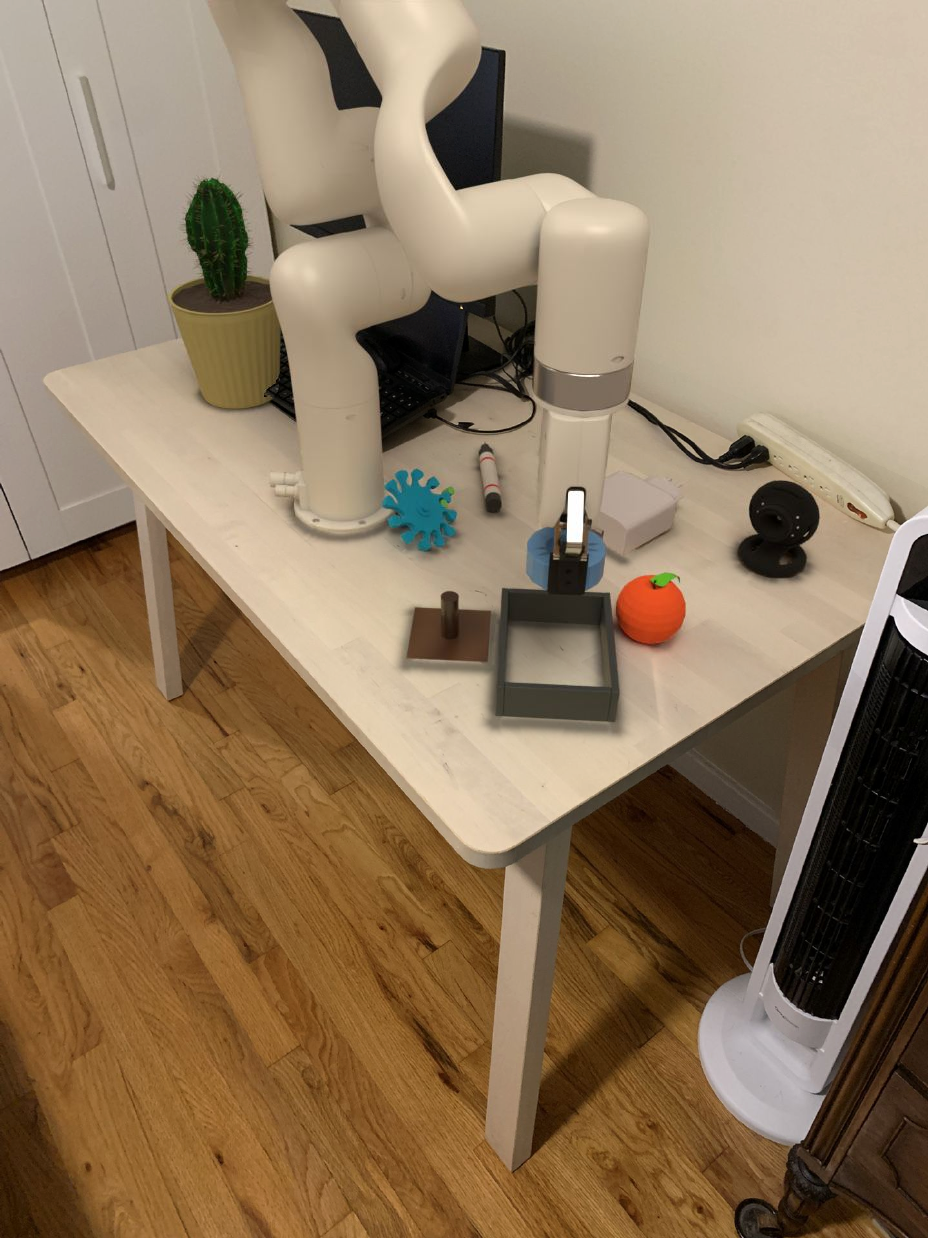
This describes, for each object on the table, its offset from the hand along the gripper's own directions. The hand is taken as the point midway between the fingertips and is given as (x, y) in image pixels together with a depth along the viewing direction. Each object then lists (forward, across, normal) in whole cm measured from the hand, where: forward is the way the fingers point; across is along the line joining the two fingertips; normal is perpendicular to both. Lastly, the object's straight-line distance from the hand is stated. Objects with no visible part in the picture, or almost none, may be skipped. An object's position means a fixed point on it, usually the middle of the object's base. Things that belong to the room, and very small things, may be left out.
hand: (564, 565), depth 80 cm
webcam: (+13, -21, +25) cm, 35 cm away
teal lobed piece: (+13, -23, -15) cm, 30 cm away
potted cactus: (+13, -58, -46) cm, 75 cm away
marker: (+13, -36, -8) cm, 39 cm away
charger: (+13, -28, +10) cm, 32 cm away
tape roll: (+1, 0, 0) cm, 1 cm away
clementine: (+13, -7, +10) cm, 18 cm away
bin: (+13, 0, 0) cm, 13 cm away
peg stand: (+13, -4, -11) cm, 17 cm away
